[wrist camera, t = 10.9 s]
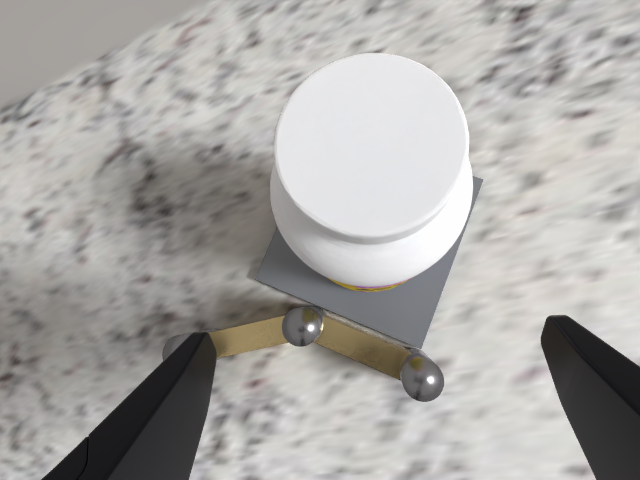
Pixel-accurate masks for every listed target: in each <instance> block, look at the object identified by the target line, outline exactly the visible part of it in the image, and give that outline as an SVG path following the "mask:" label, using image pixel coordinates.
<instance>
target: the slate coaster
mask: <svg viewBox="0 0 640 480" xmlns="http://www.w3.org/2000/svg"><path fill="white" fill-rule="evenodd" d="M472 178H473V194H472V202H471V207H470V211H469V214H468V217H467V220H466V223H465V225H464V227H463V229H462V231H461V233H460V235H459V237H458V238H457V240H456V241H455V243H454V244H453V246H452V247H451V248H450V249H449V250H448V252H447V253H446V254H445V255H444V256H443V257H442V258H441V259H439V260H438V261H437V262H436V263H435V264H433V265H432V266H431V267H429V268H428V269H426V270H425V271H423V272H421V273H420V274H418V275H416V276H415V277H413V278H411V279H410V280H408V281H406V282H404V283H402V284H400V285H399V286H396V287H394V288H392V289H389V290H385V291H381V292H371V293H367V292H358V291H354V290H350V289H347V288H345V287H342V286H340V285H338V284H337V283H335V282H333V281H331V280H330V279H328V278H327V277H325V276H323V275H321V274H319V273H318V272H316V271H315V270H313V269H312V268H310V267H309V266H308V265H307V264H305V263H304V262H303V261H302V260H301V259H300V258H299V257H298V256H297V255H296V254H295V253H294V252H293V250H292V249H291V248H290V247H289V245H288V244H287V243H286V241H285V240H284V238H283V236H282V235H281V233H280V231H279V229H278V227H277V229H276V231H275V233H274V236H273V238H272V241H271V243H270V245H269V248H268V250H267V252H266V255H265V257H264V260H263V262H262V264H261V267H260V269H259V272H258V274H257V276H256V279H255V280H258V281H260V282H263V283H265V284H267V285H270V286H272V287H274V288H277V289H279V290H282V291H284V292H286V293H289V294H291V295H293V296H296V297H298V298H301V299H303V300H305V301H308V302H310V303H312V304H315V305H317V306H320V307H322V308H324V309H327V310H329V311H331V312H334V313H336V314H339V315H341V316H343V317H346V318H348V319H351V320H353V321H355V322H358V323H360V324H362V325H365V326H367V327H370V328H372V329H374V330H377V331H379V332H381V333H384V334H386V335H389V336H391V337H393V338H396V339H398V340H400V341H403V342H405V343H408V344H410V345H412V346H415V347H417V348H419V349H421V348H422V345H423V342H424V340H425V337H426V334H427V331H428V329H429V326H430V323H431V321H432V318H433V315H434V312H435V310H436V307H437V304H438V302H439V299H440V296H441V293H442V291H443V288H444V285H445V282H446V280H447V277H448V274H449V272H450V269H451V266H452V263H453V261H454V258H455V255H456V253H457V250H458V247H459V244H460V242H461V239H462V236H463V233H464V231H465V228H466V225H467V223H468V220H469V217H470V214H471V212H472V209H473V206H474V204H475V201H476V198H477V195H478V193H479V190H480V187H481V184H482V182H483V179H480V178H477V177H474V176H472Z"/></svg>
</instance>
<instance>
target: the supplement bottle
mask: <svg viewBox="0 0 640 480" xmlns="http://www.w3.org/2000/svg"><path fill="white" fill-rule="evenodd" d="M468 152H469V132H468V127H467V122H466V118H465V115H464V112H463V110H462V107H461V105H460V103H459V101H458V99H457V98H456V96H455V94H454V93H453V91H452V90H451V88H450V87H449V86H448V85H447V84H446V83H445V82H444V81H443V80H442V79H441V78H440V77H439V76H438V75H436V74H435V73H434V72H433V71H431V70H430V69H428V68H427V67H425V66H424V65H422V64H420V63H417V62H415V61H413V60H410V59H408V58H405V57H401V56H397V55H392V54H384V53H364V54H357V55H352V56H348V57H344V58H341V59H338V60H336V61H333V62H331V63H329V64H327V65H325V66H323V67H322V68H320V69H318V70H317V71H315V72H314V73H312V74H311V75H310V76H309V77H308V78H306V79H305V80H304V81H303V82H302V83H301V84H300V85H299V86H298V87H297V88H296V90H295V91H294V92H293V93H292V95H291V96H290V97H289V99H288V101H287V102H286V104H285V106H284V108H283V109H282V112H281V114H280V116H279V119H278V122H277V126H276V130H275V135H274V164H273V168H272V173H271V179H270V200H271V207H272V211H273V215H274V218H275V221H276V224H277V227H278V229H279V231H280V233H281V235H282V236H283V238H284V240H285V241H286V243H287V244H288V245H289V247H290V248H291V249H292V250H293V252H294V253H295V254H296V255H297V256H298V257H299V258H300V259H301V260H302V261H303V262H304V263H305V264H307V265H308V266H309V267H310V268H312V269H313V270H315V271H316V272H318V273H319V274H321V275H323V276H325V277H327V278H328V279H330V280H331V281H333V282H335V283H337V284H338V285H340V286H342V287H345V288H347V289H350V290H354V291H358V292H367V293H371V292H381V291H385V290H389V289H392V288H394V287H396V286H399V285H400V284H402V283H404V282H406V281H408V280H410V279H411V278H413V277H415V276H416V275H418V274H420V273H421V272H423V271H425V270H426V269H428V268H429V267H431V266H432V265H433V264H435V263H436V262H437V261H438V260H439V259H441V258H442V257H443V256H444V255H445V254H446V253H447V252H448V250H449V249H450V248H451V247H452V246H453V244H454V243H455V241H456V240H457V238H458V237H459V235H460V233H461V231H462V229H463V227H464V225H465V223H466V220H467V217H468V214H469V211H470V207H471V202H472V194H473V178H472V170H471V165H470V161H469V158H468Z"/></svg>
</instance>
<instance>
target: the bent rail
mask: <svg viewBox="0 0 640 480" xmlns="http://www.w3.org/2000/svg"><path fill="white" fill-rule="evenodd" d="M199 332H208V333H209V335H210V337H211V339H212V341H213V344H214V346H215V348H216V351H217V360H218V359H220V358H221V357H225V356H230V355H234V354H239V353H243V352H248V351H252V350H257V349H261V348H266V347H270V346H275V345H279V344H284V343H288V342H289V343H290V344H292V345H295V346H306V345H309V344H310V343H312V342H315V343H317V344H320V345H322V346H324V347H326V348H329V349H331V350H333V351H336V352H338V353H340V354H342V355H345V356H347V357H349V358H351V359H354V360H356V361H358V362H361V363H363V364H365V365H367V366H370V367H372V368H374V369H376V370H379V371H381V372H383V373H385V374H388V375H390V376H392V377H395V378H397V379H399V380H401V381H402V383H403V386H404V389H405V391H406V392H407V393H408V395H409V396H411V397H412V398H413V399H415V400H418V401H422V402H427V401H431V400H434V399H435V398H437V397H438V396H439V395H440V393H441V392H442V390H443V387H444V377H443V374H442V372H441V370H440V369H439V367H438V366H437V365H436V364H435V363H434V362H433V361H432V360H431V359H430V358H429V357H428V356H427V355H426V354H425V353H424V352H422V351H421V350H419V349H416V348H409V349H407V348H405V347H402V346H400V345H398V344H395V343H393V342H391V341H388V340H386V339H384V338H381V337H379V336H376V335H374V334H372V333H369V332H367V331H365V330H362V329H360V328H358V327H355V326H353V325H350V324H348V323H346V322H343V321H341V320H339V319H336V318H334V317H332V316H329V315H327V314H326V313H325V311H324V310H323V309H321V308H319V307H316V306H309V307H299V308H294V309H292V310H290V311H289V312H288V313H287V314H286V315H285V316H280V317H276V318H271V319H267V320H263V321H258V322H254V323H250V324H245V325H241V326H237V327H232V328H228V329H224V330H218V329H210V330H204V331H199ZM193 333H194V332H193ZM191 334H192V333H188V334H182V335H177V336H174V337H172V338H171V339H170V340H168V342H167V343H166V344H165V346H164V349H163V361H164V360H165V359H166V358H167V357H168V356H169V355H170V354H171V353H172V352H173V351H174V350H175V349H176V348H177V347H178V346H179V345H180V344H181V343H182V342H183V341H184V340H185V339H186V338H187V337H188V336H189V335H191Z"/></svg>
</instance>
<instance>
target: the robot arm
mask: <svg viewBox="0 0 640 480" xmlns="http://www.w3.org/2000/svg"><path fill="white" fill-rule="evenodd" d="M541 346H542V349H543V352H544V355H545V358H546V361H547V364H548V367H549V370H550V373H551V376H552V379H553V382H554V384H555V387H556V390H557V393H558V396H559V399H560V402H561V404H562V406H563V409H564V411H565V413H566V415H567V418H568V420H569V422H570V424H571V426H572V428H573V430H574V433H575V435H576V437H577V439H578V441H579V443H580V445H581V448H582V450H583V452H584V454H585V456H586V458H587V460H588V463H589V465H590V467H591V469H592V471H593V473H594V475H595V478H596V480H640V366H638V365H637V364H635V363H634V362H632V361H631V360H630V359H628V358H627V357H625V356H624V355H623V354H621V353H620V352H618V351H617V350H615V349H614V348H613V347H611V346H610V345H608V344H607V343H605V342H604V341H603V340H601V339H600V338H598V337H597V336H596V335H594V334H593V333H591V332H590V331H588V330H587V329H586V328H584V327H583V326H581V325H580V324H579V323H577V322H576V321H574V320H573V319H571V318H570V317H568V316H566V315H551V316H548V317H547V319H546V322H545V325H544V328H543V331H542V335H541ZM216 360H217V351H216V348H215V346H214V344H213V341H212V339H211V337H210V335H209V333H208V332H194V333H192V334H191V335H189V336H188V337H187V338H186V339H185V340H184V341H183V342H182V343H181V344H180V345H179V346H178V347H177V348H176V349H175V350H174V351H173V352H172V353H171V354H170V355H169V356H168V357H167V358H166V359H165V360H164V361H163V362H162V363H161V364H160V365H159V366H158V367H157V368H156V369H155V370H154V371H153V372H152V373H151V374H150V375H149V376H148V377H147V378H146V379H145V380H144V381H143V382H142V383H141V384H140V385H139V386H138V387H137V388H136V389H135V390H134V391H133V392H132V393H131V394H130V395H129V396H128V397H127V398H126V399H124V400H123V401H122V402H121V403H120V404H119V405H118V406H117V407H116V408H115V409H114V410H113V411H112V412H111V413H110V414H109V415H108V416H107V417H106V418H105V419H104V420H103V421H102V422H101V423H100V424H99V425H98V426H97V427H96V428H95V429H94V430H93V431H92V432H91V433H90V434H89V437H86V438H85V439H84V440H83V441H82V442H81V443H80V444H79V445H78V446H77V447H76V448H75V449H74V450H73V451H71V452H70V453H69V454H68V455H67V456H66V457H65V458H64V459H63V460H62V461H61V462H60V463H59V464H58V465H57V466H56V467H55V468H54V469H53V470H51V471H50V472H49V473H48V474H47V475H46V476H45V477H44V478H42V479H41V480H189V477H190V473H191V470H192V466H193V462H194V459H195V455H196V452H197V448H198V445H199V441H200V437H201V434H202V430H203V427H204V423H205V420H206V416H207V412H208V407H209V402H210V396H211V390H212V384H213V378H214V372H215V366H216Z"/></svg>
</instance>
